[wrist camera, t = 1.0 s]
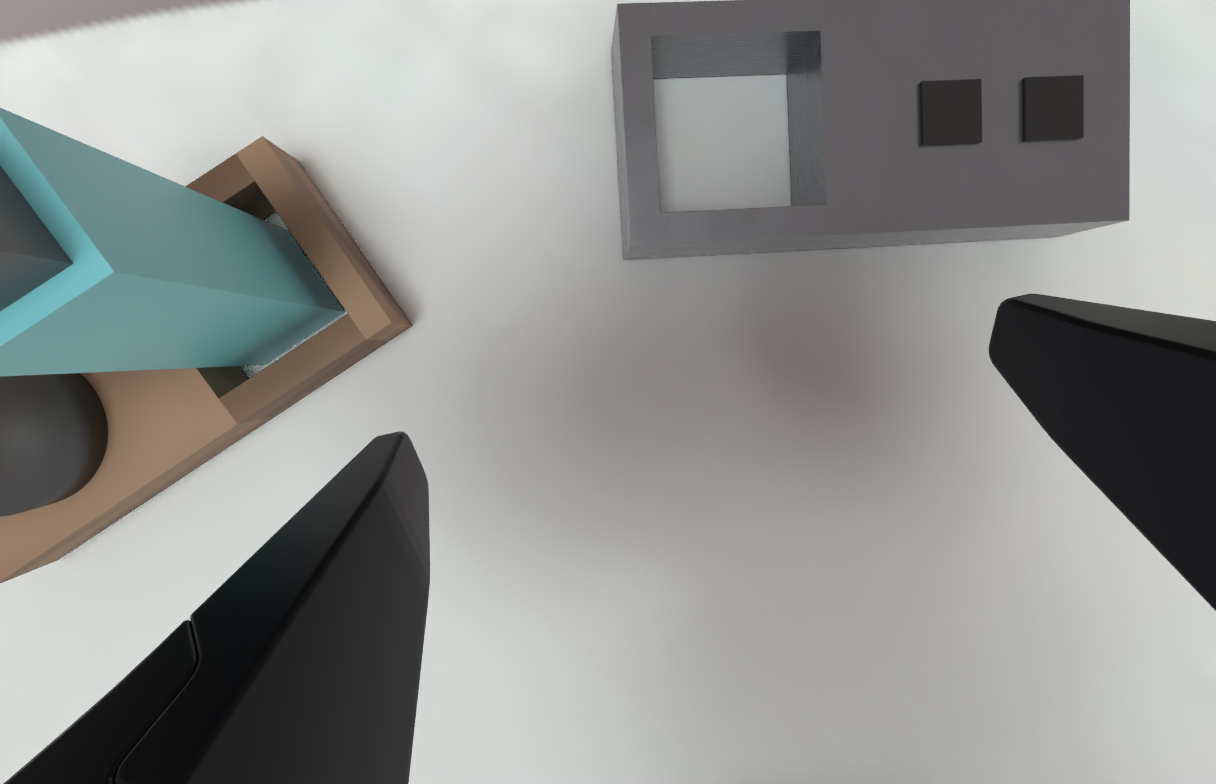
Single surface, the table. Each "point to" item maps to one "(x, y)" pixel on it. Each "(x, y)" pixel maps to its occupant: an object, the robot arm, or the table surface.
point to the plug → (137, 268)
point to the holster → (175, 387)
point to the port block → (891, 119)
